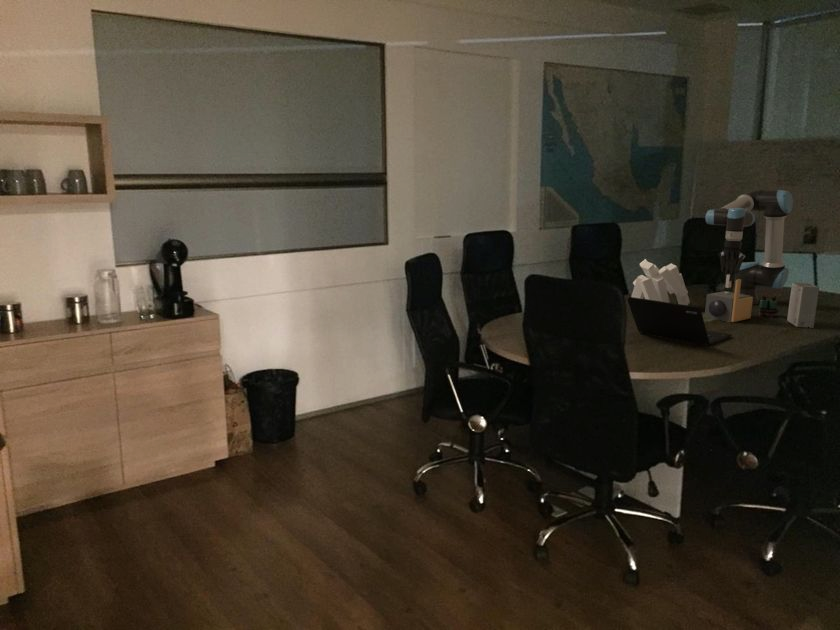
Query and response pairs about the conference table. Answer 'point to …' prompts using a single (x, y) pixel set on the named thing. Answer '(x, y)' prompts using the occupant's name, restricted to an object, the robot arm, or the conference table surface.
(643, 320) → the laptop
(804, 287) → the hard drive box
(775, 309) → the binoculars
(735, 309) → the bent orange bar
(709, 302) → the grey box with knob
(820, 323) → the conference table surface
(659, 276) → the pile of blocks
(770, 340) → the conference table surface
